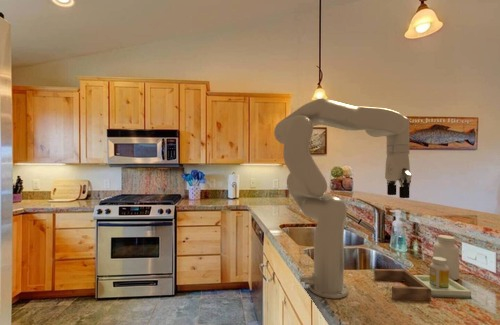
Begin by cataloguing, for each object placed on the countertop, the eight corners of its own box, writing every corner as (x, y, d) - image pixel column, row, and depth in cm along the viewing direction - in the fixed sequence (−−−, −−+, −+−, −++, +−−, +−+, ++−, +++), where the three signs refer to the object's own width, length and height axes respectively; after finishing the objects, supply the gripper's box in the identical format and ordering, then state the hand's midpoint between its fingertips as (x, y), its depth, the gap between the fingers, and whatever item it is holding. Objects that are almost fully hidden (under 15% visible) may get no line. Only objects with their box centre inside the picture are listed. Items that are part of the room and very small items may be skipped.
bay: (393, 299, 85) (393, 287, 85) (374, 278, 100) (374, 269, 100) (430, 300, 84) (430, 289, 84) (405, 279, 99) (405, 269, 99)
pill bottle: (463, 282, 97) (463, 240, 98) (437, 278, 100) (436, 238, 100) (454, 273, 105) (454, 234, 105) (430, 271, 108) (430, 233, 108)
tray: (431, 296, 87) (431, 290, 87) (411, 280, 99) (411, 275, 99) (471, 297, 86) (471, 291, 86) (446, 281, 98) (446, 276, 98)
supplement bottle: (427, 286, 92) (428, 258, 92) (431, 281, 96) (431, 254, 96) (447, 292, 88) (447, 262, 88) (450, 286, 92) (450, 258, 92)
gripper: (378, 151, 110) (378, 193, 110) (398, 149, 93) (398, 199, 93) (397, 151, 110) (397, 194, 109) (421, 149, 92) (421, 199, 92)
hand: (397, 196), depth 101 cm, fingers open, 9 cm apart
